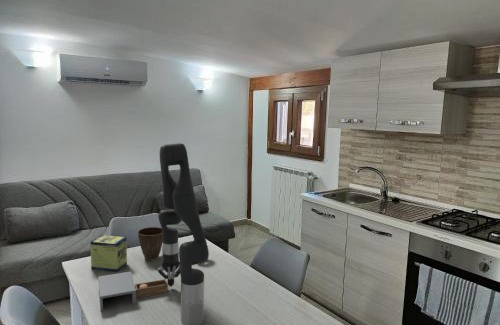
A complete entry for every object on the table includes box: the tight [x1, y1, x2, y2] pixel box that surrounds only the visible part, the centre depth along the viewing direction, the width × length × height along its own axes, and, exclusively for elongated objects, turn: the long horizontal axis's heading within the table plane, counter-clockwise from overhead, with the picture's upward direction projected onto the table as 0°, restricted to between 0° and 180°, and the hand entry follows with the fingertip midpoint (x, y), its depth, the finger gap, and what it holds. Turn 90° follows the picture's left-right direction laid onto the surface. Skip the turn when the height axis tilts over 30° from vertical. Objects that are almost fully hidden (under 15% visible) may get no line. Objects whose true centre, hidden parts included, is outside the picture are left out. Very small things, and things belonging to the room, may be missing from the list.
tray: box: [134, 278, 169, 299], centre depth 163 cm, size 6×14×4 cm, turn 114°
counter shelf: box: [98, 271, 137, 312], centre depth 160 cm, size 20×14×6 cm
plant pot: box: [137, 226, 163, 261], centre depth 203 cm, size 15×15×16 cm
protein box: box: [90, 234, 128, 273], centre depth 190 cm, size 10×16×16 cm
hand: (170, 285), depth 167 cm, fingers closed
